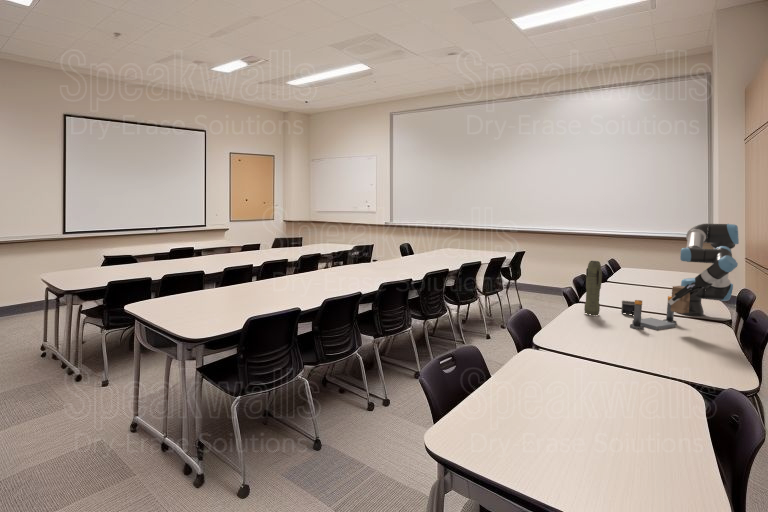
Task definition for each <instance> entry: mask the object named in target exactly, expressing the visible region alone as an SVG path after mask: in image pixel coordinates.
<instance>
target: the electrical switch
mask: <svg viewBox="0 0 768 512" xmlns="http://www.w3.org/2000/svg"><path fill="white" fill-rule="evenodd" d="M634 308H635V300H634V301H633V300H632V301H631V300H624V299H623V300H621V311H620V312H621V314H622V315H624V314H623V313H626V314H632V315H631V316H633V315H634Z"/></svg>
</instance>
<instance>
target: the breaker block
mask: <svg viewBox="0 0 768 512" xmlns="http://www.w3.org/2000/svg"><path fill="white" fill-rule="evenodd" d="M671 288H672V289H671V296H672V298H673V297H674V296H675V293H677V292H679V291H680V290H681V289H683V288H684V286H681V285H674V286H672V287H671ZM689 302H690V293H688V294H686V295H685V296H683V297H681V298H680V299H679V300H678V301H677V302H675V303H674V304H673V305H671V311H673V312H674V313H676V314H680V313H688V312H689Z"/></svg>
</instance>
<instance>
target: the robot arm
mask: <svg viewBox="0 0 768 512" xmlns="http://www.w3.org/2000/svg"><path fill="white" fill-rule="evenodd" d="M685 238H686V241H687V242H686V247H682V248H681V249H680V255H679V256H680V259H679V260H680V261H681V262H687V263H702V264H703V263H704V264H711V265H710V266H709V267H707V268H706V269H705V270H703V271H702V272H701V273H699V274H698V275H697V276H695V277H688V278H683V279H682V280H681V282H680V286H684V288H683V289H681V290H680V291H679V292H677V293H675V296H674V297H673V298H671V299H670V300H669V301H668V300H667V303H668V302H669V304H670V305H673V304H674V303H675V302H677V301H678V300H679V299H680V298H681V297H683V296H685V295H686V294H688V293H690V302H689V312H688V313H679V314H680V315H685V316H690V317H691V316H693V317H694V316H695V317H702V316H704V312H705V311H704V308H703V305H702V299H703V300H709V301H711V300H712V301H719V302H727V301H728V302H729V300H730V299H731V298H732V294H733V290H734V283H732V282H731V280H730V279H729V274H730V273H731V272H733V271H734V270H735V269H736V268H738V266H739V265H738V262H737V260H736V259H735V258H734V257H733V253H732V249H734V248H735V247H736V246H737V245H739V243H740V242H739V241H740V240H739V227H738V225H737V224H735V223H733V224H731V223H702V224H698V225H695V226H693V227H691V228H690V229H689V230H688V231H687V233H686V236H685ZM704 243H705V244H710V246H711V247H712V248H704Z"/></svg>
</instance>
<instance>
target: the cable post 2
mask: <svg viewBox="0 0 768 512" xmlns="http://www.w3.org/2000/svg"><path fill="white" fill-rule="evenodd" d="M671 298H672V295H668V296H667V305H666V317H665V319H662V320H663V321H667V322H671V323H675V325H677V320H674V317H675V312H673V311H671V305H670V304H669V302H668V301H669V300H670V299H671Z"/></svg>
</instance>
